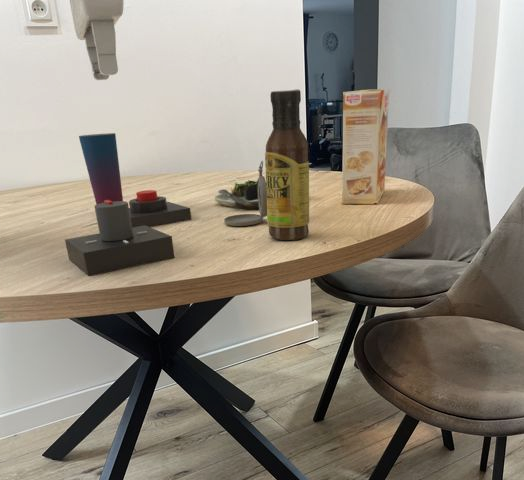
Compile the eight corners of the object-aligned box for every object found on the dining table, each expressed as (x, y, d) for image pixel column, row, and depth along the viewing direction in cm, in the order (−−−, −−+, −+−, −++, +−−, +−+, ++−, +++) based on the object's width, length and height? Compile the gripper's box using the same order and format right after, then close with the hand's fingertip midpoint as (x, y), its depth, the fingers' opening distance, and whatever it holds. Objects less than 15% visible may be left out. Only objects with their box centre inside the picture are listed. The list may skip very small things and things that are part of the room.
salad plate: (191, 205, 108) (188, 182, 106) (252, 192, 119) (251, 171, 117) (253, 214, 95) (251, 188, 93) (316, 198, 106) (315, 175, 104)
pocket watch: (217, 224, 89) (211, 163, 84) (254, 216, 93) (250, 158, 89) (246, 231, 83) (241, 166, 78) (284, 221, 87) (282, 159, 83)
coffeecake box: (378, 204, 96) (382, 88, 88) (340, 204, 98) (341, 91, 90) (386, 191, 109) (390, 88, 100) (352, 191, 111) (354, 91, 103)
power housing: (128, 231, 88) (124, 207, 86) (111, 222, 96) (107, 201, 94) (191, 220, 94) (189, 197, 92) (170, 213, 102) (167, 192, 100)
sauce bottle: (260, 237, 78) (251, 92, 70) (292, 230, 81) (287, 90, 73) (286, 244, 74) (279, 89, 65) (319, 236, 77) (317, 87, 68)
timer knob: (138, 237, 70) (132, 201, 68) (106, 243, 68) (99, 206, 66) (127, 232, 73) (121, 197, 71) (96, 237, 71) (89, 202, 69)
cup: (88, 217, 102) (71, 136, 96) (105, 210, 108) (90, 134, 102) (118, 217, 101) (104, 134, 94) (134, 210, 106) (121, 132, 100)
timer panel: (88, 276, 65) (83, 251, 64) (69, 260, 73) (64, 238, 72) (174, 257, 71) (171, 234, 69) (148, 244, 78) (145, 224, 77)
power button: (141, 204, 91) (140, 194, 90) (135, 201, 94) (133, 192, 93) (160, 201, 93) (159, 191, 92) (153, 199, 96) (152, 189, 95)
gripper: (48, -50, 60) (73, 83, 66) (46, -117, 43) (80, 72, 49) (103, -48, 62) (122, 81, 68) (123, -111, 44) (147, 70, 50)
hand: (105, 77), depth 58 cm, fingers open, 8 cm apart
